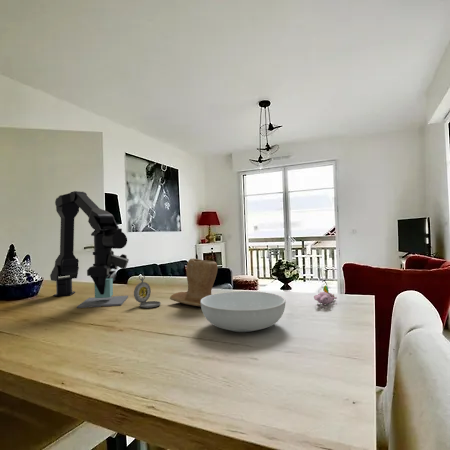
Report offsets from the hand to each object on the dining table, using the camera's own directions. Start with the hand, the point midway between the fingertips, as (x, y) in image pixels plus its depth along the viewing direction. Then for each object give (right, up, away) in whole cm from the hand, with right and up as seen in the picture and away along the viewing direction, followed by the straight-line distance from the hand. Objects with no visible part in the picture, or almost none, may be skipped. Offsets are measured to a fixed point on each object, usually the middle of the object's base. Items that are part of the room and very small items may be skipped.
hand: (104, 292), depth 114 cm
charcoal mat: (0, -3, 0) cm, 3 cm away
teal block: (0, -1, 0) cm, 1 cm away
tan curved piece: (+33, -2, -8) cm, 34 cm away
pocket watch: (+17, -3, -8) cm, 19 cm away
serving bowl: (+47, -1, -34) cm, 58 cm away
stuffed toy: (+74, -1, -13) cm, 75 cm away
